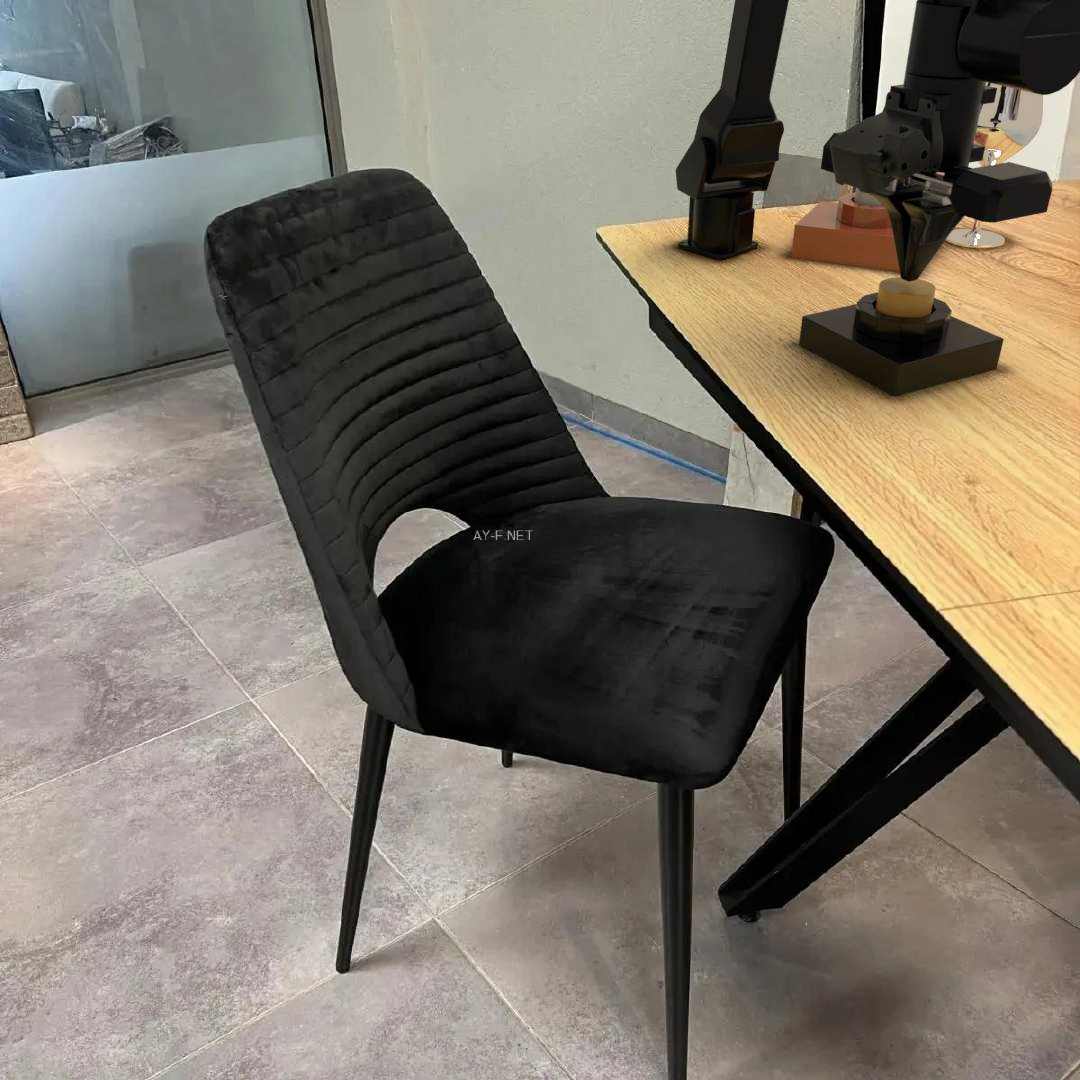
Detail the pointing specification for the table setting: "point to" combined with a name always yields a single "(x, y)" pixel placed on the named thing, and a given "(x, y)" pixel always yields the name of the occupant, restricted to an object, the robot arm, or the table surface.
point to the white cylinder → (865, 199)
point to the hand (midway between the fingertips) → (909, 279)
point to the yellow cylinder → (905, 297)
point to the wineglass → (1001, 146)
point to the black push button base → (900, 345)
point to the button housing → (846, 235)
